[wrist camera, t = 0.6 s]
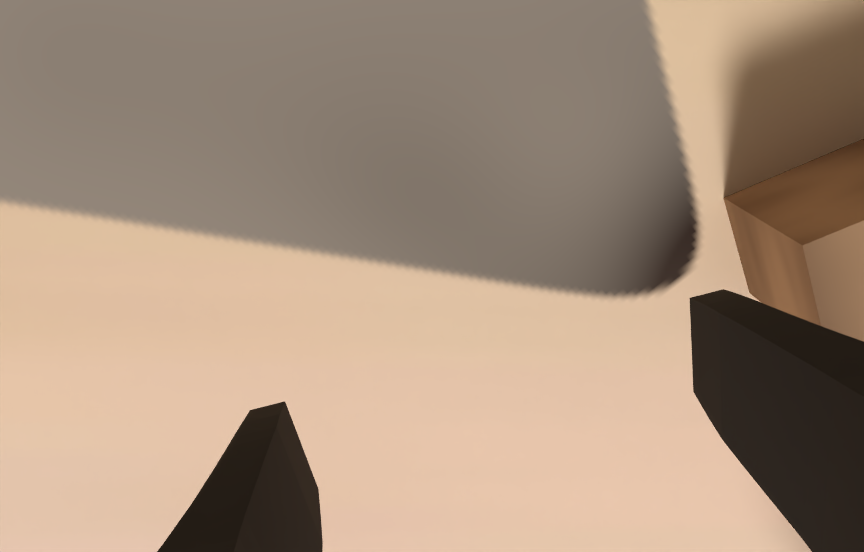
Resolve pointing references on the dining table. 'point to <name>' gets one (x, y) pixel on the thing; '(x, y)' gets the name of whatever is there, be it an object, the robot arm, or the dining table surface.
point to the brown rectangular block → (807, 240)
